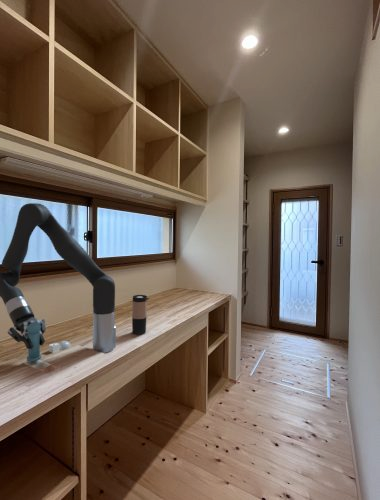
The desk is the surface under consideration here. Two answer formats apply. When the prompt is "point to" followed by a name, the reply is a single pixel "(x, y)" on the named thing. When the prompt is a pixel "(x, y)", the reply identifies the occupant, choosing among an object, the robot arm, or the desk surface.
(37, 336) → the pawn
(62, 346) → the die tray
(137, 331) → the travel mug
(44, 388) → the desk surface
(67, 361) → the desk surface
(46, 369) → the track board
